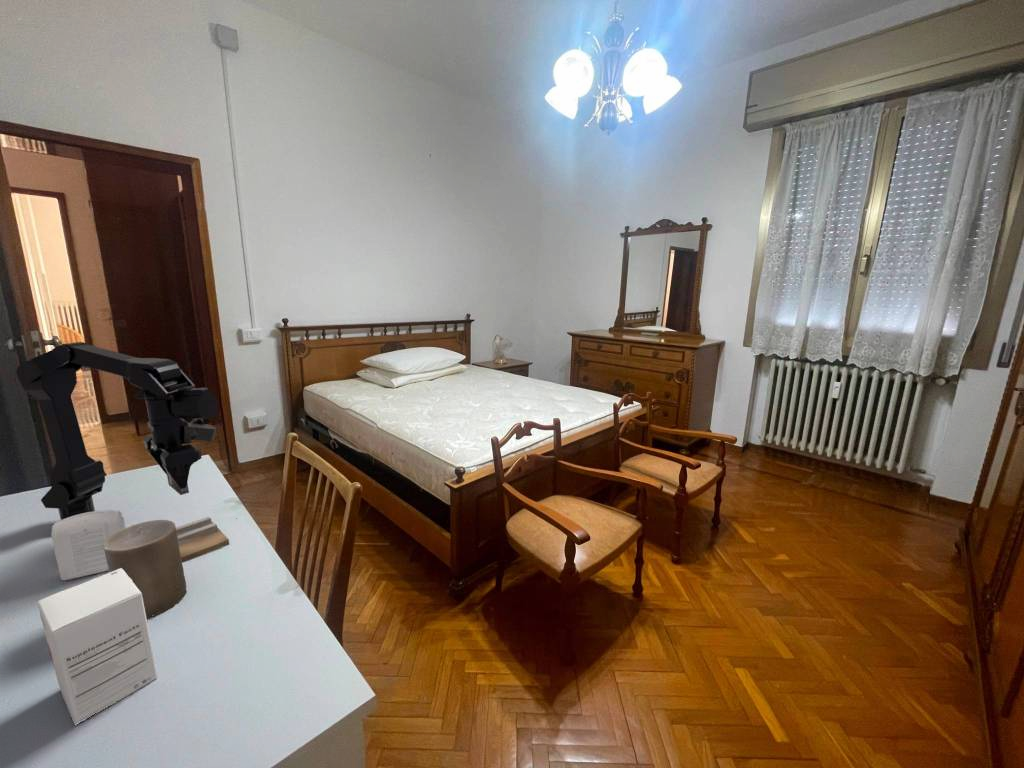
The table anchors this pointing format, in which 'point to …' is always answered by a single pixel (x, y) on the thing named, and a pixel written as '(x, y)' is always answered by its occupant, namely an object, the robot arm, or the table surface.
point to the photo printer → (84, 542)
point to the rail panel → (199, 538)
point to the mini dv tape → (175, 486)
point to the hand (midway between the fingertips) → (177, 482)
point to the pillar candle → (149, 562)
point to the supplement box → (98, 642)
